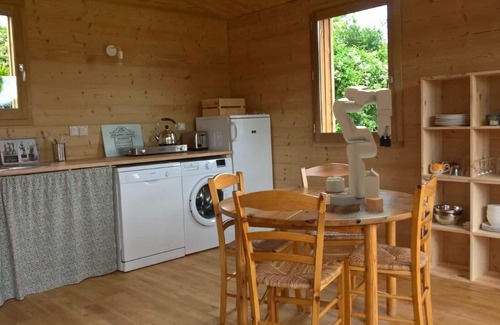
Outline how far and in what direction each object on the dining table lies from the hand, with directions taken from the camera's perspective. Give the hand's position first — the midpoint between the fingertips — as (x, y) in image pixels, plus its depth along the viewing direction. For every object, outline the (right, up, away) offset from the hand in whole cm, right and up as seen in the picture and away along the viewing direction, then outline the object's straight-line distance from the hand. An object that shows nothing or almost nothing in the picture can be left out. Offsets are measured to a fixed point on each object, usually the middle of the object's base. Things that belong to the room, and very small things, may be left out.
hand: (385, 146), depth 247 cm
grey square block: (-23, -29, -7) cm, 38 cm away
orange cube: (-8, -32, -8) cm, 34 cm away
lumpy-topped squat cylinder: (-16, -26, +56) cm, 64 cm away
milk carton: (-4, -30, +9) cm, 32 cm away
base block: (-23, -33, -6) cm, 41 cm away
